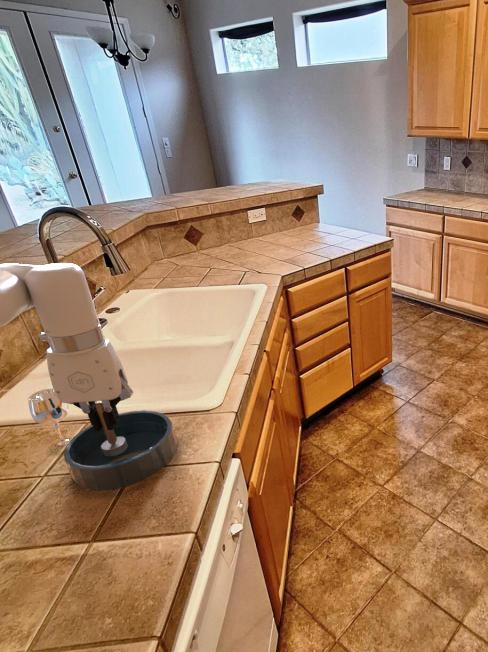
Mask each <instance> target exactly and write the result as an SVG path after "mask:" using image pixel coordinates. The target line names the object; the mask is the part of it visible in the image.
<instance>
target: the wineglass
mask: <svg viewBox="0 0 488 652" xmlns="http://www.w3.org/2000/svg"><path fill="white" fill-rule="evenodd" d="M28 409H29V413H30V416H31V418H32V419H33V421H34V422H35V423H36V424H39V425H42V426H49V425H50V426H51V425H52V427H53V429H54V430H55V432H56V433H57V435H58V437H59V441H58V442H56V445H57V446H64V445H67V444H68V443H69V442H70V440H69V439H68V438H64V437H63V435H62V433H61V426H60V424H59V422H61V421H63V420H64V419H66V417H67V416H68V414H69V404H68V403H63V402H60V401H59V400H58V399H57V397H56V395H55V392H54V389H53V388H45V389H41V390H38V391H35V392H34V393H32V394H31V395H29V396H28Z"/></svg>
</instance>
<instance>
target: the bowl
mask: <svg viewBox="0 0 488 652" xmlns="http://www.w3.org/2000/svg"><path fill="white" fill-rule="evenodd" d="M118 414H119V417H120V420H119V422H118V423H117V425H116V426H115V427H114V432H115V435H116V437H124V438H125V440H126V443H127V449H126V450H125V451H124V452H122V453H121V454H118V455H116V456H105V455H104V454H103V451H102V448H101V445H102V444H103V443H104V442H105V441H106V440H107V438H106V435H105V433H104V430H103V427H102V429H101V430H100V431H95V430H94V427H93V425H91V424H90V425H88V426H87V427H85V428H83V429H81V430H80V431H79V432H78V433H77V434H76V435H74V436H73V437H72V438H71V440H69V442H68V443H66V446H65V448H64V451H63V459H64V462H65V464H66V466H67V469H68V472H69V474H70V476H71V479H72V481H73V482H74V483H75V484H76V486H78V487H80V488H82V489H84V490H87V491H88V490H89V491H94V492H95V491H98V492H104V491H115V490H117V489H123V488H127V487H129V486H132V485H135V484H137V483H140V482H142V481H144V480H146V479H148V478H150V477H151V476H153V475H155V474H156V473H158V472H159V471H161V470H162V469H163V468H164V467H166V465H168V464H169V462H171V460H172V459H173V457H174V456H175V455H176V452H177V448H178V447H177V446H178V441H177V438H176V437H177V436H176V434H175V429H174V425H173V423H172V421H171V419H170V417H169V416H167V415H166V414H164V413H162V412H159V411H156V410H145V409H144V410H132V411H131V410H130V411H127V412H121V413H118Z"/></svg>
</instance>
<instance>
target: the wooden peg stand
mask: <svg viewBox="0 0 488 652" xmlns="http://www.w3.org/2000/svg"><path fill="white" fill-rule="evenodd" d="M95 407H96V410H97V413H98V416H99V418H100V421H101V424H102V427H103V430H104V433H105V435H106V438H107V440H106V441H105V442H104V443H103V444H102V445H101V448H102V451H103V454H104V455H105V456H116V455H118V454H121V453H122V452H124V451H125V450H126V449H127V443H126V440H125V438H124V437H116V435H115V432H114V429H113V430H108V429H107V426H106V424H105V421H104V418H103V415H102V413H103V412H104V411H105V410H104V407H103V404H102V401H97V404H96V405H95Z"/></svg>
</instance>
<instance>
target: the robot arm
mask: <svg viewBox="0 0 488 652" xmlns="http://www.w3.org/2000/svg"><path fill="white" fill-rule="evenodd" d="M32 308H35V311H36V313H37V315H38V318H39V321H40V323H41V326H42V329H43V331H44V332H41V333H39V337H38V338H39V340H40V341H41V342H47V344H48V346H49V348H47V349H46V351H45V352H46V364H47V370H48V374H49V379H50V382H51V383H50V384H51V386H52V389H54V392H55V395H56V397H57V399H58V400H59V401H60V402H63V403H67V404H68V405H73V406H75V407H77V408H78V409H80V410H81V411H82V413H83V414H86V415H87V416H88V419H89V422H90V425H93V427H94V430H95V431H100V430H101V429H102V424H101V421H100V418H99V416H98V413H97V410H96V407H95V405H96V404H97V403H98V402H102V404H103V407H104V410H105V411H104V412H103V413H102V415H103V418H104V421H105V424H106V426H107V429H108V430H113V429H114V427H115V426H116V425H117V423H118V422H119V420H120V417H119V414H120V413H119V411H118V408H117V405H118V404H119V403H120V402H122V401H125V400H127V399H130V398H131V397H132V396H133V394H134V390H133V389H132V388H131V387H130V385H129V382H128V378H127V374H126V371H125V368H124V366H123V363H122V361H121V358H120V356H119V354H118V352H117V351H116V349H115V347H114V346H113V344H112V342H111V340H110V339H108V338H106V337H105V335H104V331H103V328H102V325H101V322H100V319H99V316H98V312H97V310H96V309H97V308H96V307H95V302H94V300H93V297H92V293H91V290H90V286H89V284H88V281H87V277H86V274H85V272H84V270H83V269H82V268H81V267H80V266H78V265H77V264H74V263H67V262H60V263H49V264H43V265H35V264H34V265H33V264H22V263H21V264H19V263H0V328H3V327H4V326H7V324H9V323H10V322H12V321H14V319H15V318H17V317H19V315H20V314H22V313H24V312H26V311H29V310H30V309H32Z"/></svg>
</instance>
